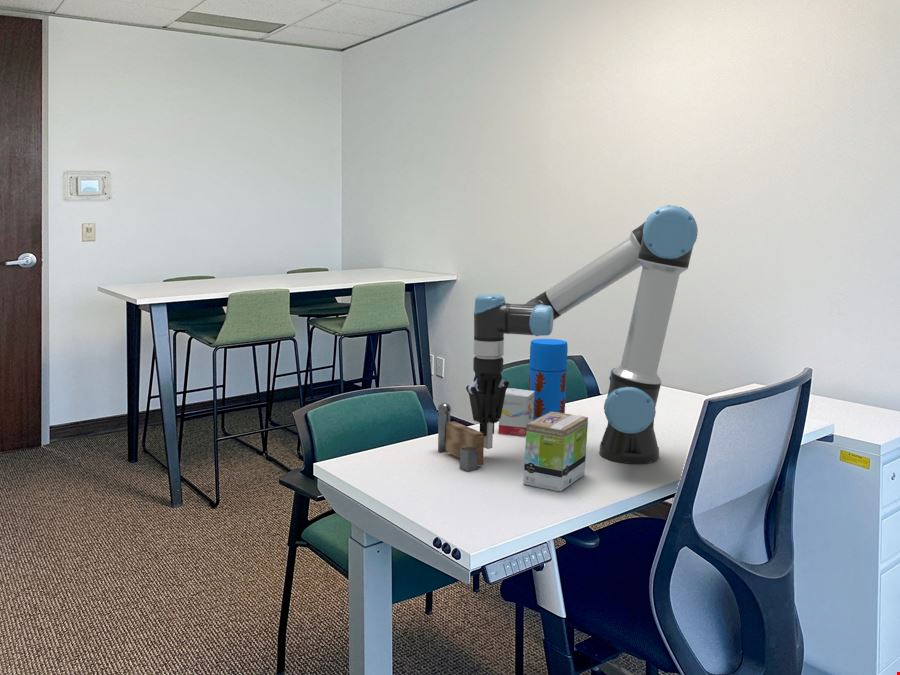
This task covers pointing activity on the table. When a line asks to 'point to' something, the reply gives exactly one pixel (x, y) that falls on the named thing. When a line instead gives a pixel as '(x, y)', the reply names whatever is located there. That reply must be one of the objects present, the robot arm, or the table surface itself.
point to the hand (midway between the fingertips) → (486, 447)
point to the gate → (464, 440)
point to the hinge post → (443, 425)
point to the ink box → (516, 411)
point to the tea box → (555, 450)
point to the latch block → (468, 459)
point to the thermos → (548, 375)
